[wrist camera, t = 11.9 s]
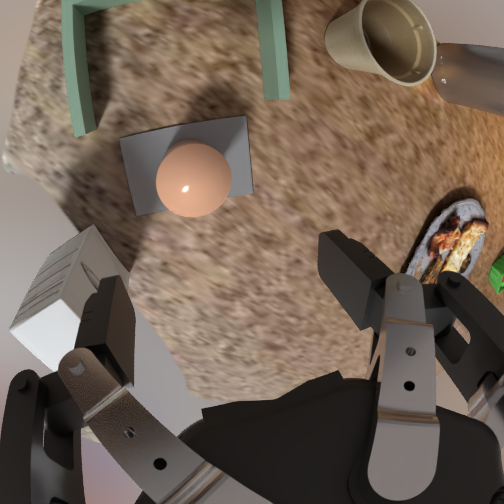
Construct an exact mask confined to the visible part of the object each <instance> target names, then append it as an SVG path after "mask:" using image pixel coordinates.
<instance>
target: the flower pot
mask: <svg viewBox="0 0 504 504" xmlns="http://www.w3.org/2000/svg"><path fill="white" fill-rule="evenodd" d="M364 36H365V37H364ZM365 38H366V41H365ZM325 45H326V48H327V51H328V53H329V54H330V56H331V57H332V58H333V60H334V61H335V62H337V63H338V64H340V65H342V66H343V67H345V68H348V69H353V70H360V71H365V72H371V73H376V74H380V75H382V76H384V77H386V78H388V79H389V80H391V81H392V82H394V83H397V84H400V85H403V86H416V85H419V84H421V83H422V82H424V81H425V80H426V79H427V78H428V77H429V76H430V75H431V73H432V71H433V69H434V66H435V62H436V54H437V51H436V50H437V49H436V40H435V37H434V33H433V30H432V27H431V25H430V23H429V22H428V19H427V18H426V16H425V15H424V13H423V12H422V10H421V9H420V8H419V7H418V6H417V5H416V4H415V3H414V2H413V1H412V0H362V1H361V3H360V4H359V5H358V6H357V7H356V8H354V9H352V10H351V11H349V12H347V13H346V14H344V15H342V16H341V17H339V18H337V19H335V20H333V21H332V22H331V23H330V24H329V25H328V27H327V30H326V33H325Z"/></svg>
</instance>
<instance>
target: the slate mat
mask: <svg viewBox="0 0 504 504" xmlns="http://www.w3.org/2000/svg"><path fill="white" fill-rule="evenodd" d="M183 139H197V140H200V141H202V142H204V143H205V144H207V145H208V146H211V147H213V148H214V149H216V150H217V151H218V152H220V153H221V154H222V155H223V157H224V158H225V159H226V161H227V162H228V164H229V167H230V170H231V175H232V183H231V188H230V191H229V194H228V196H227V198H228V197H234V196H239V195H245V194H251V193H253V188H252V176H251V165H250V154H249V143H248V131H247V120H246V116H238V117H230V118H222V119H215V120H208V121H202V122H196V123H190V124H184V125H178V126H173V127H168V128H163V129H158V130H154V131H149V132H145V133H140V134H136V135H132V136H128V137H124V138H120V139H119V141H120V146H121V151H122V156H123V161H124V166H125V170H126V175H127V179H128V184H129V188H130V192H131V196H132V200H133V204H134V208H135V212H136V216H142V215H146V214H150V213H155V212H159V211H164V210H169V209H168V208H167V207H166V206H165V205H164V204H163V203H162V201H161V199H160V198H159V195H158V192H157V188H156V177H157V171H158V168H159V166H160V164H161V162H162V159H163V156H164V154H165V152H166V151H167V150H168V148H169V147H170V146H171V145H173V144H174V143H176V142H178V141H180V140H183Z"/></svg>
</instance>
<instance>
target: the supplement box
mask: <svg viewBox="0 0 504 504" xmlns="http://www.w3.org/2000/svg"><path fill="white" fill-rule="evenodd" d="M115 275H120V276H121V278H122V280H123V283H124V285H125V288H126V290H127V291H128V283H129V277H130V273H129V272H128V271H127V270H126V268H125V267H124V266H123V265H122V264H121V262H120V261H119V260H118V259H117V257H116V256H115V255H114V253H113V252H112V250H111V249H110V248H109V246H108V245H107V243H106V242H105V240H104V239H103V237H102V236H101V234H100V233H99V231H98V230H97V228H96V226H95V225H94V224H92V225H91V226H90V227H88V228H87V229H85V230H84V231H82V232H81V233H79V234H78V235H76V236H75V237H73V238H72V239H70V240H69V241H67V242H66V243H65V244H63V245H62V246H60V247H59V248H58V249H56V250H55V251H53V252H52V253H51V254H49V256H48V257H47V259H46V260H45V262H44V264H43V265H42V267H41V269H40V270H39V272H38V274H37V276H36V278H35V279H34V281H33V283H32V285H31V287H30V289H29V290H28V293H27V294H26V296H25V298H24V300H23V302H22V304H21V306H20V308H19V310H18V312H17V314H16V316H15V318H14V320H13V322H12V325H11V326H10V328H9V331H10V332H11V333H12V335H14V337H15V338H16V339H18V340H19V341H20V342H21V343H22V344H23V345H24V346H25V347H26V348H27V349H28V350H29V351H30V352H31V353H33V354H34V355H35V356H36V357H37V358H38V359H39V360H40V361H41V362H43V363H44V364H45V365H47V367H49V368H50V369H51V370H52V371H53V372H55V371H57V370H58V365H59V362H60V361H61V359H62V358H63V356H64V355H65V354H67V353H68V352H69V351H71V350H73V349H74V345H75V341H76V336H77V332H78V328H79V324H80V322H81V321H80V320H81V316H82V314H83V313H82V312H83V308H84V305H85V302H86V301H87V300H88V298H89V297H90V295H91V294H92V293H97V291H98V287H99V283H100V280H101V279H102V278H105V277H110V276H115Z"/></svg>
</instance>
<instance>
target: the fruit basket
mask: <svg viewBox="0 0 504 504" xmlns="http://www.w3.org/2000/svg"><path fill="white" fill-rule="evenodd" d="M488 279H489V281H490V282H491V284H492V285H493V287H494V288H495V290H496V292H497V294H499V293H500V292H501V291H502V290H503V289H504V255H502V256H501V257H500V258H499V259H498V260H497V261H496V262H495V263H494V264H493V265H492V267H491V271H490V275H489V278H488Z"/></svg>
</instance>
